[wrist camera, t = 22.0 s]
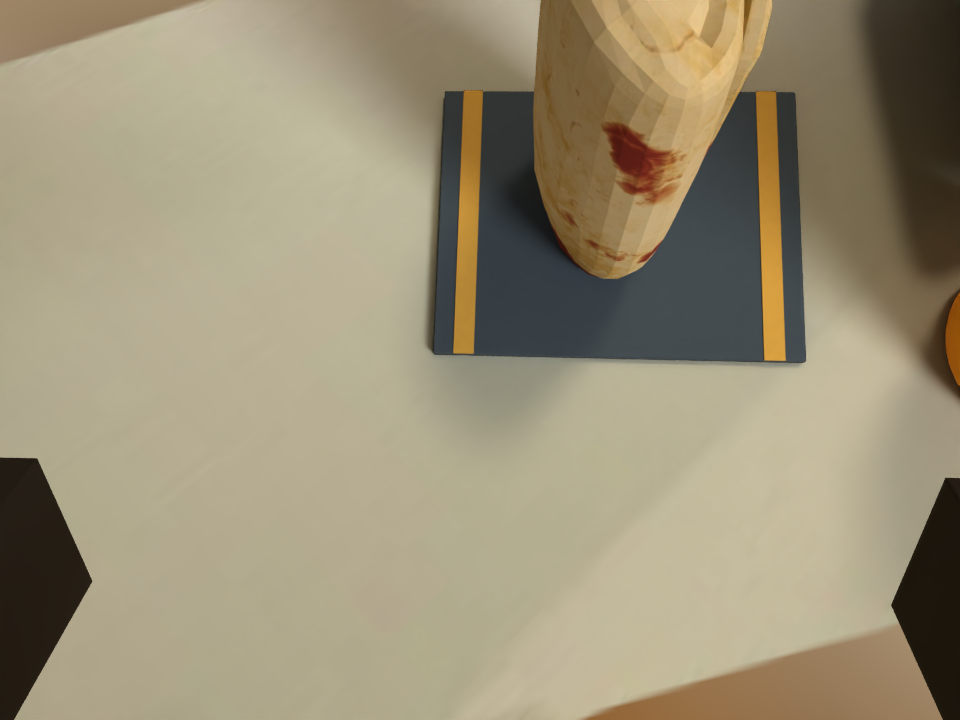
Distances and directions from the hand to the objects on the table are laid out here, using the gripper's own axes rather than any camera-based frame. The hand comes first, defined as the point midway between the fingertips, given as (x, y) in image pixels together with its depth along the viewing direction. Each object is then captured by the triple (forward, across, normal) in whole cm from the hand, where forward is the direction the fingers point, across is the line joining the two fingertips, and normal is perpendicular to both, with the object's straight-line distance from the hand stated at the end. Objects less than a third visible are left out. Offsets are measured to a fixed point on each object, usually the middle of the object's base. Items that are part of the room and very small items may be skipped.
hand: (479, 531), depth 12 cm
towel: (+29, +5, -8) cm, 31 cm away
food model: (+29, +4, -8) cm, 30 cm away
